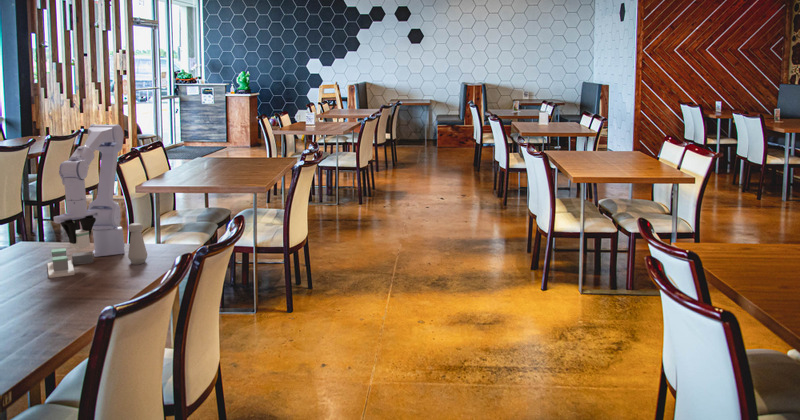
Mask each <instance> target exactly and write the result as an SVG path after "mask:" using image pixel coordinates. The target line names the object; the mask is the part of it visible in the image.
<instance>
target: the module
mask: <svg viewBox="0 0 800 420" xmlns="http://www.w3.org/2000/svg"><path fill="white" fill-rule="evenodd" d="M90 239H91V238H90ZM90 239H89V231H86V230H82V229H76V243H75V244H73V243H70V242H69V245H70V248H71V249H77V250H80V249H85V248H89V247H91V240H90Z"/></svg>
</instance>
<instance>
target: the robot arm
mask: <svg viewBox="0 0 800 420" xmlns="http://www.w3.org/2000/svg"><path fill="white" fill-rule="evenodd" d="M124 136H125V134H124V131H123V128H122V126H121V125H120V124H119V123H118V124H117V123H116V124H95V123H91V124H90V125H89V126H88V128H87V138H86V139H85V142H84V144H83V145H80V146H78V147H76V149H75V151H74V152H73V153H72V155H70V157H69V158H68V160H64V161H62V162H61V163H60V164H59V167H58V168H59V169H58V174H59V177H60V179H61V183H62V185H63V186H64V194H65V205H66V206H65V207H66V213H63V214H59V215H56V216H53V223H54V224H60V225H61V227H62V229H63V230H64V231H65V233H66V235H67V237H68V241H69V244H70V243H73V244H75V243H76V230H77V225H78V223H77V222H74V221H75V220H79V222H80V225H81V230H86V231H89V239H91V233H92V235H93V236H92V237H93V247H94V250H92V254H93V256H94V257H93V258H97V257H107V256H115V255H124V254H126V252H125V250H126V249H125V245H126V244H125V241H124V240H125V239H124V231H123V230H124V229H123V227H122V226H119V225H120V223H121V220H122V215H121V214H122V213H121V206H120V205H119V203H118V202H116V201H115V200H114V199H113V198H114V192H115V191H114V190H115V185H116V184H115V181H116V174H117V166H118V156H119V152H120V151H122V150H123V144H124ZM96 150H97V152H100V153H101V159H100V166H99V167H100V169H99V176H98V184H97V192H96V198H95V199H94V200H92V201H91V202H90V203H87V194H86V191H87V190H86V183H85V179H86V178H87V176H88V174H89V173H88V171H89V168H90V166H89V165H91V163H92V161H93V160H94V159H95V153H94V152H95V151H96ZM87 205H88V206H87Z"/></svg>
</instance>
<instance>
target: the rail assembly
mask: <svg viewBox="0 0 800 420" xmlns="http://www.w3.org/2000/svg"><path fill="white" fill-rule="evenodd" d="M50 251H51V257H52V259H51V261H52V262H47V270H48V278H49V279H53V278H60V277H68V276H75V269H74V265H73V262H72V259H70V260H68V258H69V257H68V255H67V248H66V247H64V248H63V247H62V248H54V249H53V248H52V249H51V250H50Z"/></svg>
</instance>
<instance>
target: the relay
mask: <svg viewBox="0 0 800 420" xmlns="http://www.w3.org/2000/svg"><path fill="white" fill-rule="evenodd" d="M93 256H94V254H93V251H85V252H84V251H83V252H73V253H71V260H72V264H73V266H74V265H82V264H83V265H84V264H85V265H86V264H92V263H94V257H93Z"/></svg>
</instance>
